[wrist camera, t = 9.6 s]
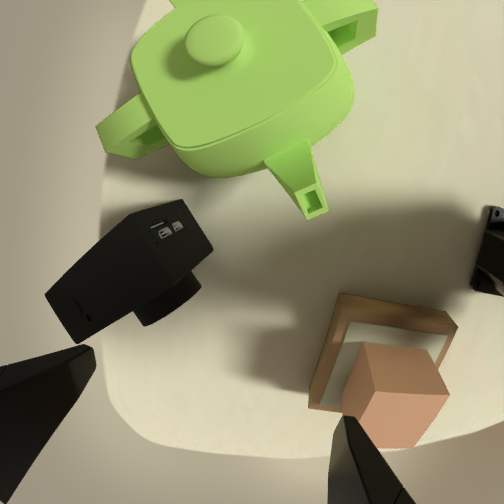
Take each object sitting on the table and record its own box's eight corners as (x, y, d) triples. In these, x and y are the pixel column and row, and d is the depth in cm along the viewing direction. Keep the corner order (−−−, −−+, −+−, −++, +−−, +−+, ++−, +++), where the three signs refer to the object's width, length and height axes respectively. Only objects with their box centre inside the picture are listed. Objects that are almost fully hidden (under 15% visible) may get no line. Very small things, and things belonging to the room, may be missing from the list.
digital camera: (131, 317, 24) (84, 359, 18) (97, 265, 23) (42, 295, 17) (224, 263, 21) (186, 306, 14) (183, 198, 20) (128, 214, 14)
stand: (445, 311, 19) (459, 327, 16) (403, 398, 22) (409, 418, 19) (339, 292, 20) (342, 309, 18) (309, 387, 23) (307, 409, 20)
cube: (400, 400, 19) (412, 448, 14) (341, 395, 19) (344, 446, 15) (426, 349, 17) (450, 395, 12) (363, 340, 18) (375, 391, 13)
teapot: (157, 156, 20) (58, 158, 11) (203, 15, 16) (139, -55, 7) (319, 204, 19) (331, 240, 10) (365, 49, 15) (402, -30, 6)
